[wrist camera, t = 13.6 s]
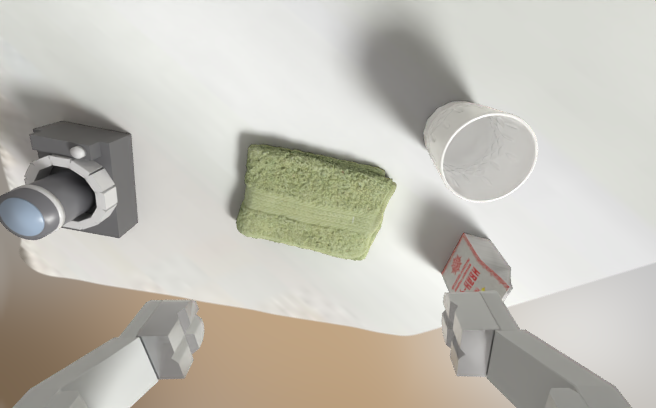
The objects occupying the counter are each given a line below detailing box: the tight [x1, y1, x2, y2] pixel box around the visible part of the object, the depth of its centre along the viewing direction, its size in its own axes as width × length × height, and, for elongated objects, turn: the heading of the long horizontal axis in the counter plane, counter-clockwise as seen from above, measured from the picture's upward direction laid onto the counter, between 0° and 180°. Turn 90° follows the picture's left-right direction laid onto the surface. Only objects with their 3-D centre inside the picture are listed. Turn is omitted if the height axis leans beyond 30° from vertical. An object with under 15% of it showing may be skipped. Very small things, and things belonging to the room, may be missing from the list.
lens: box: [0, 169, 96, 240], centre depth 35 cm, size 5×5×7 cm
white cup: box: [423, 101, 538, 202], centre depth 32 cm, size 8×8×10 cm
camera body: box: [24, 121, 138, 238], centre depth 39 cm, size 12×8×6 cm
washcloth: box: [236, 144, 396, 261], centre depth 41 cm, size 13×18×3 cm
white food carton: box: [442, 233, 513, 302], centre depth 39 cm, size 4×7×10 cm, turn 164°
